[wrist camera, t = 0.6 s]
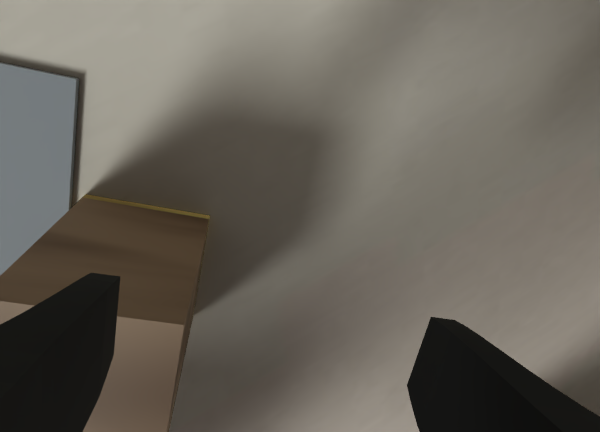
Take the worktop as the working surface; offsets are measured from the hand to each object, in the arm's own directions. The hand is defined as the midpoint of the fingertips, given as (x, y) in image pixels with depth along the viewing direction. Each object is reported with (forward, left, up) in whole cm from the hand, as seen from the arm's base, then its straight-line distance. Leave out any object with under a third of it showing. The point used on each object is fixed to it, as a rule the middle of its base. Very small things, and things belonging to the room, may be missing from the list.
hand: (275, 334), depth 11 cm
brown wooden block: (-4, +5, -10) cm, 11 cm away
